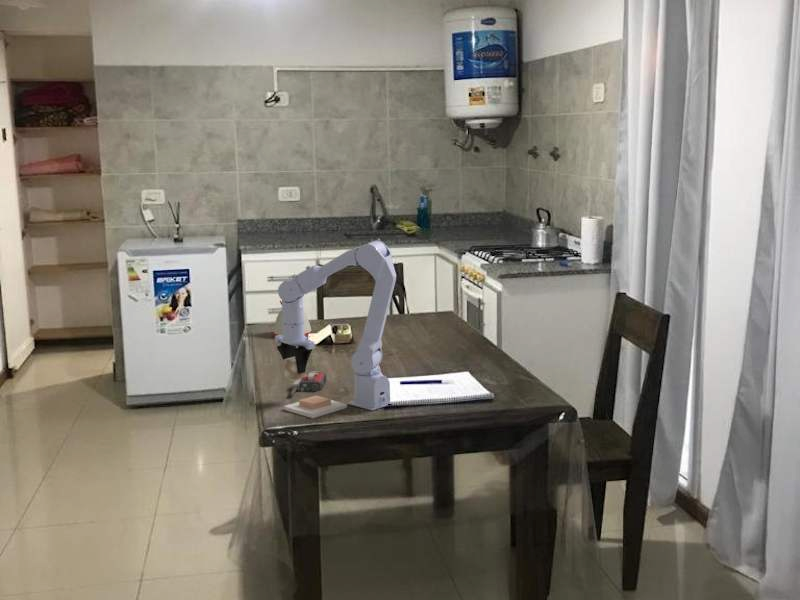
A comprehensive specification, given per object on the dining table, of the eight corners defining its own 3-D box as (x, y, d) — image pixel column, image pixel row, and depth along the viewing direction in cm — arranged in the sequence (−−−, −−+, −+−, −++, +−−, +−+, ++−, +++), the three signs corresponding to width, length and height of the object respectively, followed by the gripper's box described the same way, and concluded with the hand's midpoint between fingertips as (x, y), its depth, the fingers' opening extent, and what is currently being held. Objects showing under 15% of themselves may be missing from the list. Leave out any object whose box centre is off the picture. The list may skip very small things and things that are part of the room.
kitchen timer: (269, 334, 347) (267, 294, 344) (304, 330, 352) (302, 291, 350) (280, 341, 334) (278, 300, 332) (316, 337, 340) (314, 296, 337)
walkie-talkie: (298, 381, 279) (287, 399, 260) (298, 366, 279) (286, 384, 259) (327, 380, 279) (318, 399, 259) (327, 366, 278) (318, 384, 259)
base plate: (347, 407, 249) (346, 398, 248) (312, 418, 240) (312, 408, 240) (317, 399, 257) (317, 391, 257) (283, 409, 249) (283, 400, 248)
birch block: (307, 376, 256) (306, 358, 255) (295, 379, 253) (294, 361, 252) (297, 373, 259) (296, 356, 258) (284, 376, 256) (283, 359, 255)
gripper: (322, 323, 251) (324, 372, 253) (288, 317, 261) (290, 364, 263) (301, 327, 246) (304, 377, 248) (268, 321, 256) (270, 369, 258)
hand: (295, 371), depth 256 cm, fingers closed on birch block, 4 cm apart
